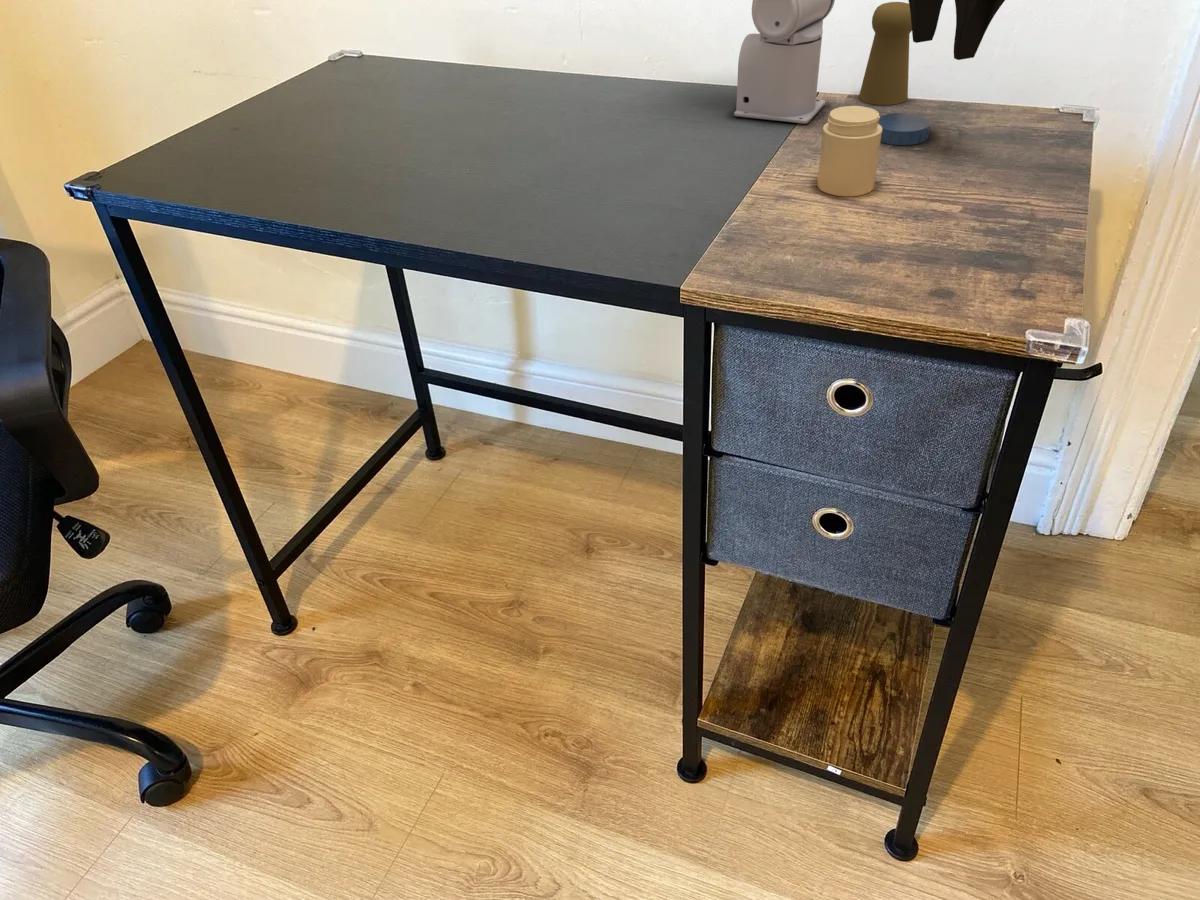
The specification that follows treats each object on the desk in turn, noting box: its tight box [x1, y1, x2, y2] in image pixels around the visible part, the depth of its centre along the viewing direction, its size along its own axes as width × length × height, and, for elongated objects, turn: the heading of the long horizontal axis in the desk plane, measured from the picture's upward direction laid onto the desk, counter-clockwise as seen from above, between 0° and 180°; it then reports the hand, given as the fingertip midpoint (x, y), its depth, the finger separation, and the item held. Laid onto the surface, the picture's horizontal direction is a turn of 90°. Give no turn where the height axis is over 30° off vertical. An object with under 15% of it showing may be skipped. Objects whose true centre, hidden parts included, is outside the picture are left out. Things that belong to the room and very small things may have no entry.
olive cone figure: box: [858, 1, 912, 106], centre depth 109 cm, size 6×6×11 cm
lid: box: [878, 112, 931, 146], centre depth 101 cm, size 6×6×2 cm
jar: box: [816, 105, 882, 197], centre depth 89 cm, size 6×6×7 cm
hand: (942, 49), depth 95 cm, fingers open, 7 cm apart
